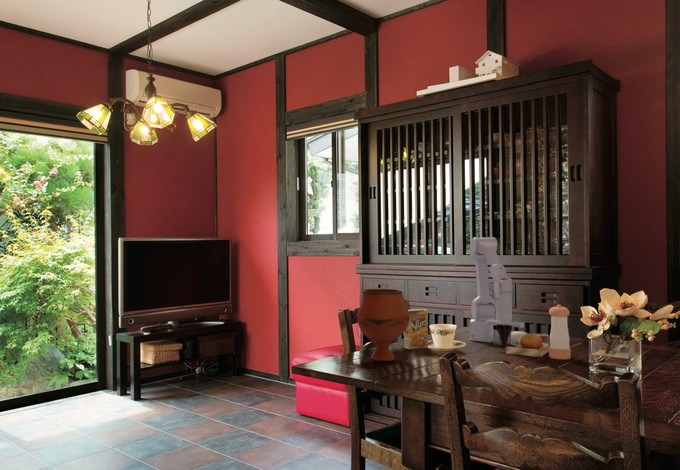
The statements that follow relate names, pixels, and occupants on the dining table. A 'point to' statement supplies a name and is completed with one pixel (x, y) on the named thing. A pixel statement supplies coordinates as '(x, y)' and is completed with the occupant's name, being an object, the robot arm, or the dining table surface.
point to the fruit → (531, 341)
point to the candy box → (416, 329)
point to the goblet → (383, 319)
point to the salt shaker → (559, 333)
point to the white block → (516, 336)
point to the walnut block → (544, 338)
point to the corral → (527, 350)
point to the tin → (497, 340)
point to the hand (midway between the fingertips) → (504, 344)
